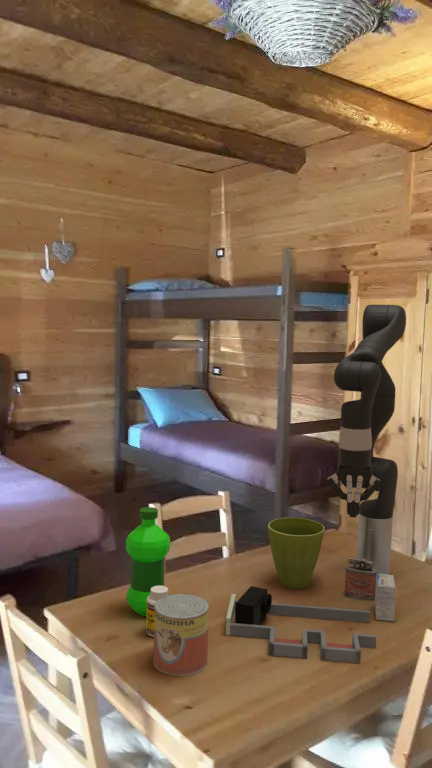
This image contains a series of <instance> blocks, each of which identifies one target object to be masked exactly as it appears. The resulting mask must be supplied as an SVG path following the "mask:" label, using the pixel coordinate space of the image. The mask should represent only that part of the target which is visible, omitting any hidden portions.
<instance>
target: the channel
mask: <svg viewBox="0 0 432 768" xmlns="http://www.w3.org/2000/svg"><path fill="white" fill-rule="evenodd" d="M238 600H239V599H237V593H231V595H230V600H229V603H228V604H229V605H228V608H227V612H226V617H225V636H231V637H241V638H242V637H246V638H256V639H265V640H266V639H267V640H269V643H268V656H275V657H286V658H287V657H289V658H297V659H307V658H308V643H310V644H320V658H321V661H331V662H340V663H341V662H342V663H351V664H352V663H353V664H354V663H355V664H361V653H362V651H361V648H369V649H376V648H377V634H368V633H367V634H366V633H356V632H353V633H352V637H351V638H352V642H351V644H346V643H337V642H335V643H333V642H327V636H326V635H327V634H326V631H325V630H320V629H310V628H302V630H301V639H300V640H299V639H289V638H278V637H277V638H276V626H273V625H263V624H261V625H252V624H240V623H235V622H234V620H235V608H236V602H237V601H238ZM267 615H271V616H273V615H274V616H283V617H295V618H296V617H297V618H309V619H320V620H330V621H331V620H332V621H343V622H344V621H345V622H355V623H356V622H357V623H368V624H370V622H371V610H365V609H364V610H363V609H354V608H353V609H352V608H351V609H350V608H340V607H329V606H327V607H325V606H314V605H304V604H303V605H302V604H301V605H300V604H289V603H280V602H279V603H278V602H277V603H276V602H272V603H271V608H270V611H269V613H267Z"/></svg>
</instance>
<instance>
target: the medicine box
mask: <svg viewBox="0 0 432 768" xmlns="http://www.w3.org/2000/svg"><path fill="white" fill-rule="evenodd" d="M396 591H397V586H396V581H395V575H393V574H389V575H388V574H376V587H375V600H374V612H375V620H378V621H385V622H395V618H396V617H395V616H396V615H395V614H396V613H395V612H396V598H397V596H396V594H397V592H396Z"/></svg>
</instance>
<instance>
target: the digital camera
mask: <svg viewBox="0 0 432 768" xmlns="http://www.w3.org/2000/svg"><path fill="white" fill-rule="evenodd" d="M268 591H269V590H268V589H267V588H263V587H258V586H253V585H251V586H250V587H249V588H247V589H246V591H245V592H244V593H243V594H242V595H241V596H240V598H239V599H237V600H238V601H237V602H236V608H235V614H234V623H240V624H252V625H262V623H264V621H265V620H266V618H267V616H268V614H267V613H269V611H270V608H271V603H273V602H272V598H273V597H272V594H271V593H268Z"/></svg>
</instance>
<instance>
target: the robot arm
mask: <svg viewBox="0 0 432 768" xmlns="http://www.w3.org/2000/svg"><path fill="white" fill-rule="evenodd" d="M361 322H362V326H361V327H362V329H361V330H362V340H360V341H359V343H358V344H357V346H356V348H355V350H354V351H353V352H352V353H350V354H348V355H346V356H345V357H344V358H342V359H341V360H340V361H339V363H338V364H337V366H336V367H335V369H334V373H333V382H334V385H335V386H336V387H337V388H338V389H339V390H341V391H344V392H357V393H358V392H359V393H360V398H359V399H357V400H348V401H344V402H343V403H342V404H341V408H340V428H339V429H340V430H339V435H338V437H339V438H338V439H339V440H338V464H337V468H336V470H335V473H334V474H332V475H328V477H327V483H328V484H329V486H330V487H331V488H332V489H333V491H334V492H335V493H336V495H337V496H338V497H339V499H341V500H344V501H346V513H347V515H348V516H349V518H357V516H358V526H357V527H358V528H357V546H356V559H358V560H361V559H366V561H371V562H373V566H372V569H376V570H377V574H388V575H390V571H391V570H390V569H391V555H392V537H393V521H394V519H393V518H394V517H393V516H394V510H395V505H396V496H397V495H396V494H397V493H396V492H397V486H398V484H397V483H398V474H399V471H398V465H397V463H396V461H395V460H392V459H389V458H388V459H387V458H384V457H383V458H382V457H378V456H374V449H375V444H376V442H377V439H378V437H379V435H380V434H381V432H382V431H383V430H384V428H385V427H386V426H387V424H388V423H389V422H390V420H391V418H392V417H393V415H394V413H395V409H396V391H397V389H396V385H395V383H394V380H393V379H392V377H391V374H389V372H388V370H387V369H386V367H385V365H384V363H383V360H384V358H385V356H386V354H387V353H388V352H389V350H391V349H392V348H393V347H394V346H395V345H396V344H397V342H398V341H399V340H400V339H401V338H402V337H403V336H404V333H405V331H406V325H407V315H406V310H405V308H404V307H403V306H401V305H398V304H368V305H366V306H365V308H364V310H363V314H362V321H361ZM338 479H339V480H338ZM339 481H340V482H341V483H342V485H343V486H344V487H345V490H346V493H345V491H343V489H342V488H341V487H340V486H339V484H338V483H339ZM353 488H354V492H353ZM362 489H364V491H363V492H362ZM374 492H378V495H377V498H374V499H369V498H370V497H371V496H372V495H373V494H375V493H374ZM356 566H359V565H356ZM368 568H369V566H368Z"/></svg>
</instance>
